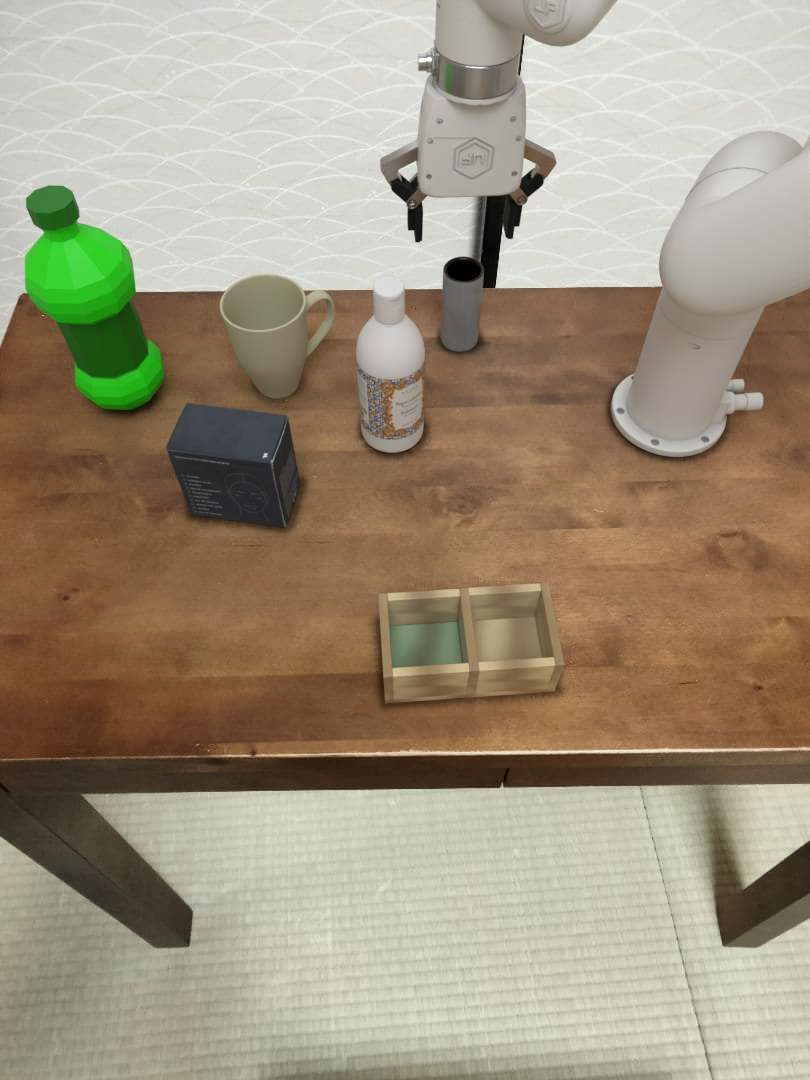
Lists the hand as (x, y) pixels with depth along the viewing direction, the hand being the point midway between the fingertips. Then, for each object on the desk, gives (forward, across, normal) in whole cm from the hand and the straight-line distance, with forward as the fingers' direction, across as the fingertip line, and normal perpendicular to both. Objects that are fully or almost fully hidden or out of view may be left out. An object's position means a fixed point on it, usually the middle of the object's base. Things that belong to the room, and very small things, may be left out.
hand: (462, 232), depth 87 cm
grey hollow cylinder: (+15, +1, 0) cm, 15 cm away
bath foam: (+15, -8, -14) cm, 22 cm away
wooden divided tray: (+14, -3, -42) cm, 45 cm away
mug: (+15, -20, -5) cm, 26 cm away
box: (+15, -24, -22) cm, 36 cm away
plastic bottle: (+16, -38, -6) cm, 42 cm away
